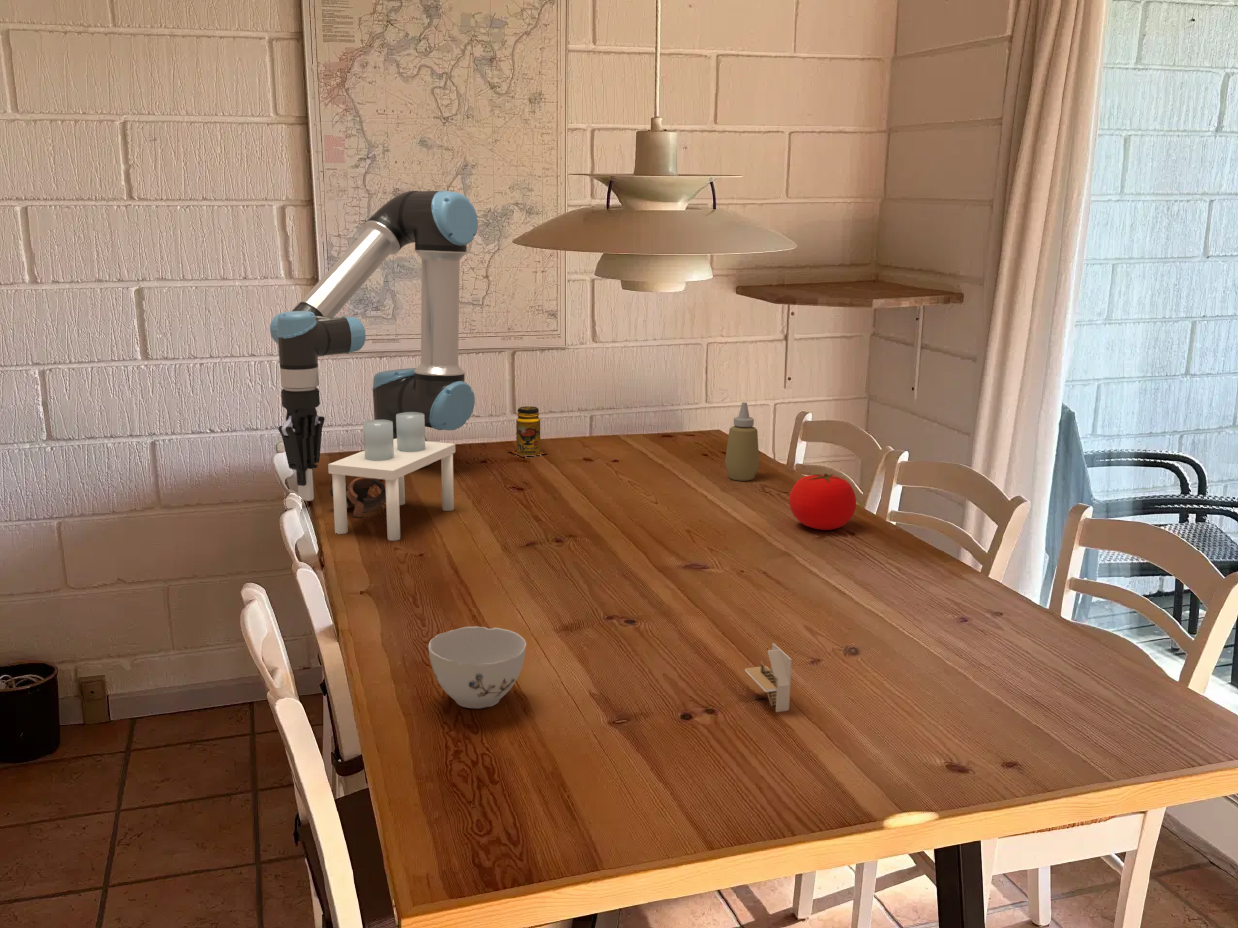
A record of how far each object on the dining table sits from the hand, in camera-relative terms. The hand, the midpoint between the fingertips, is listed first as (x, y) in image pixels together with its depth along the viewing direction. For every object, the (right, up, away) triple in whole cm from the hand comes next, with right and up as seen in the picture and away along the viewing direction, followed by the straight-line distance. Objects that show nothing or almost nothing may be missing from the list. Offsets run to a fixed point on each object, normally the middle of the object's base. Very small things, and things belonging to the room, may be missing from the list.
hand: (306, 499), depth 232 cm
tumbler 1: (+19, +9, -15) cm, 25 cm away
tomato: (+106, -6, -9) cm, 107 cm away
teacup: (+47, -23, -86) cm, 101 cm away
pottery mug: (+12, -3, -2) cm, 12 cm away
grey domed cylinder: (+23, +10, -8) cm, 27 cm away
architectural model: (+86, -24, -87) cm, 124 cm away
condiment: (+42, +10, +51) cm, 67 cm away
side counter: (+21, -4, -9) cm, 23 cm away
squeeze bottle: (+94, +4, +28) cm, 99 cm away
